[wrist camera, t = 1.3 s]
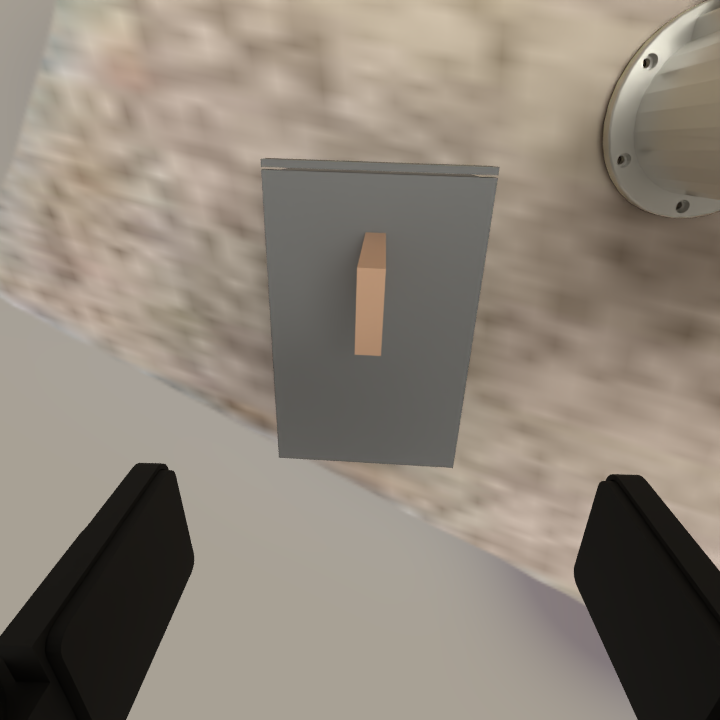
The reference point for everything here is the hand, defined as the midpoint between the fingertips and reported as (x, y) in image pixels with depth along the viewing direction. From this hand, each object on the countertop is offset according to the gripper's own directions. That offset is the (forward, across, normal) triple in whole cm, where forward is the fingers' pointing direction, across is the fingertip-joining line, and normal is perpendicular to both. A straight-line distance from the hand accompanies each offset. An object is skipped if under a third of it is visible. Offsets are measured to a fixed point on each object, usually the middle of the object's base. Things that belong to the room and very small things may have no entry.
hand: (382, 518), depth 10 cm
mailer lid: (+21, +1, +4) cm, 21 cm away
